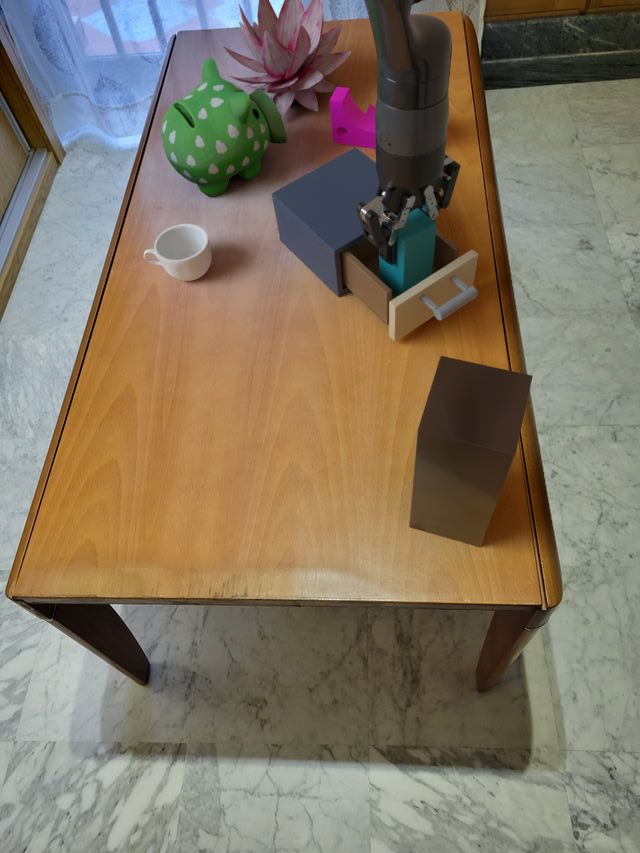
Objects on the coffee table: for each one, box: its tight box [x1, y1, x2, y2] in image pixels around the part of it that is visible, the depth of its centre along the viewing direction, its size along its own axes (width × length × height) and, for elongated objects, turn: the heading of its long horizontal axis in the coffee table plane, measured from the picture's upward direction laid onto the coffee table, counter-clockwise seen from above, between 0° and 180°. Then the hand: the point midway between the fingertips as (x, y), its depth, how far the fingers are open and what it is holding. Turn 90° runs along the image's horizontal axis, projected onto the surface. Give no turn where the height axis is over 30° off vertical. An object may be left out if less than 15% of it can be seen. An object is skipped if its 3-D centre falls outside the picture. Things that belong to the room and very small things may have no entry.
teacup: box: [143, 223, 213, 282], centre depth 92 cm, size 10×8×5 cm
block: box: [379, 209, 437, 297], centre depth 82 cm, size 5×5×11 cm
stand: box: [408, 355, 533, 548], centre depth 63 cm, size 8×8×22 cm
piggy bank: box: [160, 57, 288, 198], centre depth 99 cm, size 14×18×15 cm
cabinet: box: [271, 146, 379, 298], centre depth 91 cm, size 15×15×9 cm
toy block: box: [329, 86, 376, 150], centre depth 103 cm, size 15×6×8 cm, turn 71°
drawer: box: [340, 228, 479, 343], centre depth 84 cm, size 18×14×7 cm
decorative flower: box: [223, 0, 352, 117], centre depth 108 cm, size 21×21×15 cm
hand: (406, 249), depth 81 cm, fingers closed on block, 5 cm apart
